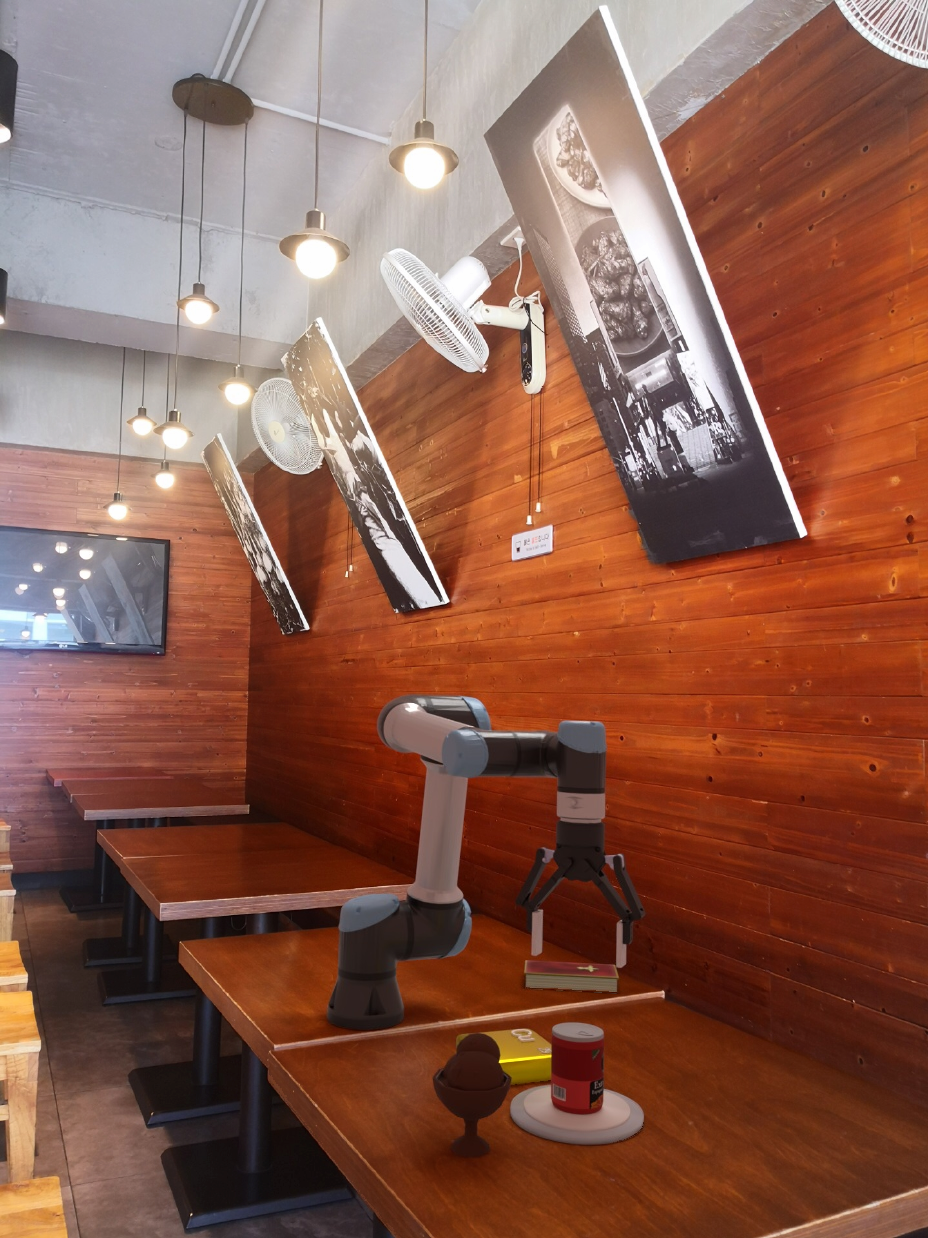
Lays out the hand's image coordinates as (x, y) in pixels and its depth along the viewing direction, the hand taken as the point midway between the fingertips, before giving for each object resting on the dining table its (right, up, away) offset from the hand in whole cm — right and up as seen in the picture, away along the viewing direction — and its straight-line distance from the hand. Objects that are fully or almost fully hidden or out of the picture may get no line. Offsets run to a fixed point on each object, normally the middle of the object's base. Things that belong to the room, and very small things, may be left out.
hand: (578, 960), depth 148 cm
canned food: (0, -21, -3) cm, 22 cm away
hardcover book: (+7, -32, +71) cm, 78 cm away
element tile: (-10, -25, +17) cm, 32 cm away
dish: (-1, -23, -3) cm, 23 cm away
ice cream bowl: (-17, -21, -15) cm, 31 cm away
